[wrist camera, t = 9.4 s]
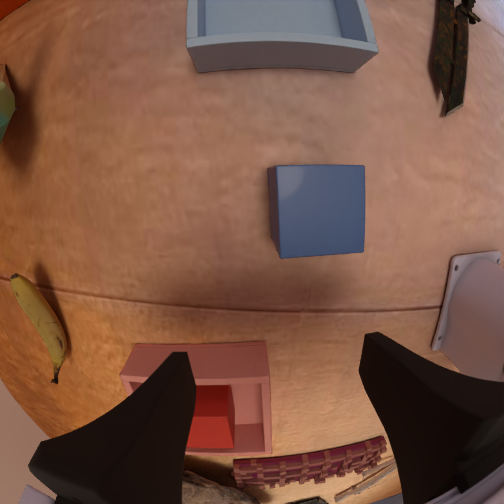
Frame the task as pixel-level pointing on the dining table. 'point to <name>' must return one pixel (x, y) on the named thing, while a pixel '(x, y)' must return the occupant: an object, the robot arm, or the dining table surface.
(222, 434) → the red block
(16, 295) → the banana
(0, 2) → the tape dispenser
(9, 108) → the decorative sculpture
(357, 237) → the blue block
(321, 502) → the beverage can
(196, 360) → the pink bin
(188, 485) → the rock
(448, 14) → the knife
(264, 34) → the blue bin
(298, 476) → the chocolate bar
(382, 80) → the dining table surface
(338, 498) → the crossbow
